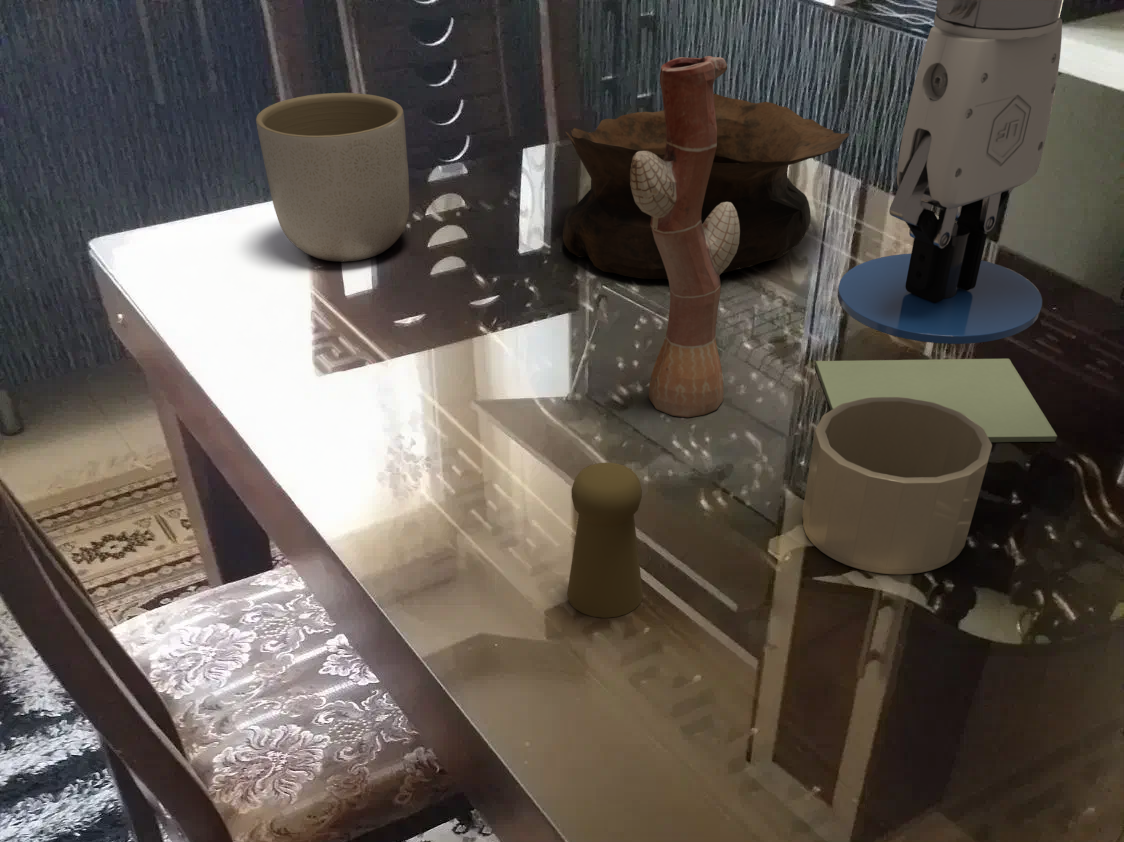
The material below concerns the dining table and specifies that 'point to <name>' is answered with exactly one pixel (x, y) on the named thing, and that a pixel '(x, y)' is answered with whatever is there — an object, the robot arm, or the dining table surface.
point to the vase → (687, 237)
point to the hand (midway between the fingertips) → (939, 287)
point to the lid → (957, 319)
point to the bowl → (736, 176)
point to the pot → (894, 484)
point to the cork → (605, 542)
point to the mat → (946, 391)
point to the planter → (337, 172)
